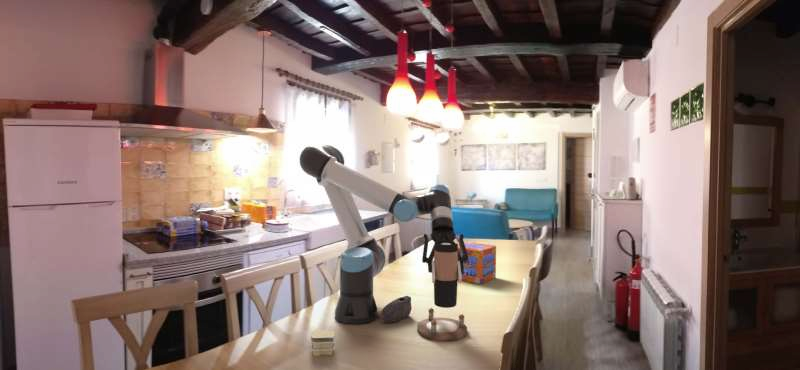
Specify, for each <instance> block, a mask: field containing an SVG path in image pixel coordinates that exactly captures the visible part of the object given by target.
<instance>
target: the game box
mask: <svg viewBox="0 0 800 370" xmlns="http://www.w3.org/2000/svg"><path fill="white" fill-rule="evenodd" d="M464 245H465V248H466V251H467V255H468V262H467V263H463V266H464V271H463V273H461V277H462V280H461V282H462V281H463V282H467V283H472V284H476V285H477V284H478V285H481V284H484V283H486V282H489V281H491V280H493V279H495V278H497V277H496V275H497V273H496V271H497V269H496V268H497V246H496V245H494V244H493V245H492V244H485V243H479V242H470V241H467V242H464ZM458 251H459V253H460V255H461V256H462V254H461V250H460V247H459V244H458ZM462 258H463V257H462Z"/></svg>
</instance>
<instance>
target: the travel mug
mask: <svg viewBox="0 0 800 370" xmlns="http://www.w3.org/2000/svg"><path fill="white" fill-rule="evenodd" d="M458 245H459V242H457V243H456V242H455V240H454V241H436V242H434V243H433V246H434V258H433V261H434V266H435V283H433V298H434V299H433V302H434V305H435V306H436V307H439V308H444V309H445V308H446V309H450V308H454V307H456V306H457V301H458V300H457V299H458V298H457V297H458Z"/></svg>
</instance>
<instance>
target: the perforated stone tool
mask: <svg viewBox="0 0 800 370" xmlns="http://www.w3.org/2000/svg"><path fill="white" fill-rule="evenodd" d="M411 297H412V296H409V295H404V296H401V297H399V298H398V297H397V298H395V299H394V300H391V301H390V302H389V303H388V304H386V305H385V306H384V307H383V308H382V309H381V313H380V321H381V322H382V323H385V324H386V323H387V324H390V323H393V322H397V321H400V320H402V319H404V318H407V316H410V315H411V312H412V309H413V308H412V307H413V306H412V298H411Z"/></svg>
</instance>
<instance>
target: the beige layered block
mask: <svg viewBox="0 0 800 370" xmlns="http://www.w3.org/2000/svg"><path fill="white" fill-rule="evenodd" d="M335 338H336V336H335V331H331V330H324V329H314V330H311V331H310V341H311V343H310V348H311V350H312V355H313V356H316V357H317V356H318V357H319V356H321V355H322V356H324V355H325V356H326V355H330V356H331V355H333V353H334V348H335V346H336V345H335V344H336V343H335V342H334V340H335Z"/></svg>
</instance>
